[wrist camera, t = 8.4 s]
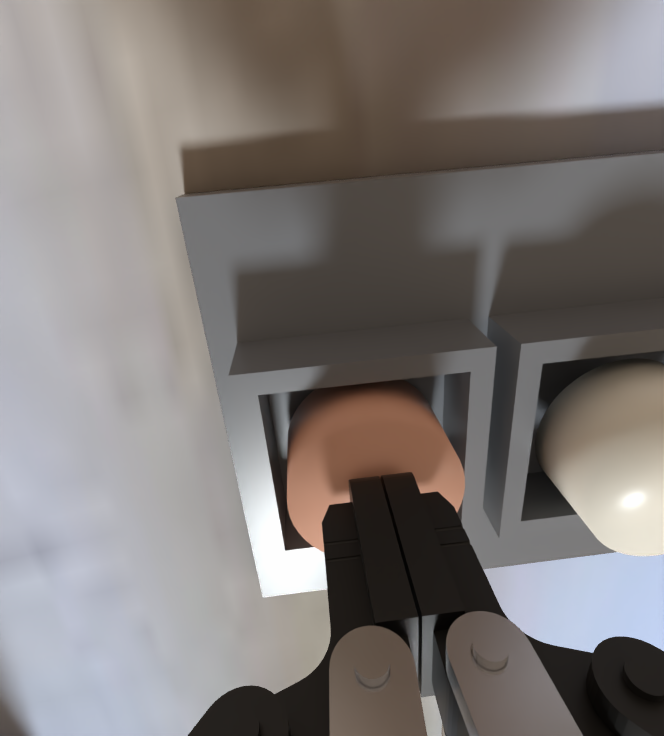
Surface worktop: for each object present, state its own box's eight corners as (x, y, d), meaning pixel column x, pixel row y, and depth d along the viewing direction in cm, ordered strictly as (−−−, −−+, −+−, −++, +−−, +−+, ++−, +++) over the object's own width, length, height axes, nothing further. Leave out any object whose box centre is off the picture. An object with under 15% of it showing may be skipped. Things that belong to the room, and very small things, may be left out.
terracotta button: (278, 381, 12) (275, 432, 10) (437, 364, 12) (470, 410, 10) (296, 504, 14) (298, 571, 12) (434, 487, 14) (461, 550, 12)
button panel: (184, 193, 12) (152, 207, 9) (990, 119, 12) (1185, 111, 10) (264, 574, 18) (259, 651, 15) (799, 506, 19) (885, 567, 16)
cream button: (546, 367, 12) (606, 419, 10) (708, 349, 12) (805, 396, 10) (527, 497, 14) (573, 565, 11) (667, 480, 14) (740, 544, 12)
